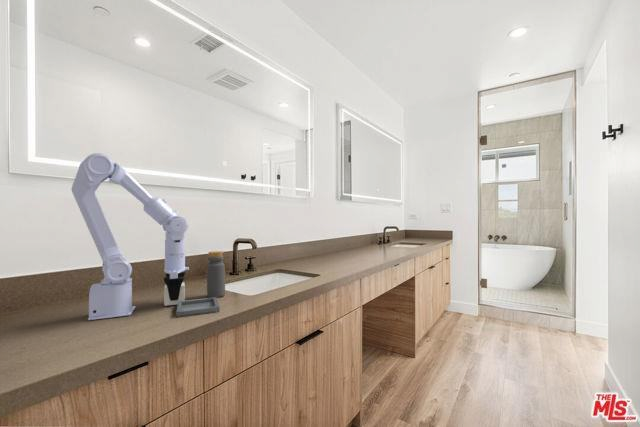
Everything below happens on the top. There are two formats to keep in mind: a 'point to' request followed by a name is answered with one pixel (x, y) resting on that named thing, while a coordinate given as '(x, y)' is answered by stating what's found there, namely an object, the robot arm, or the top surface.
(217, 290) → the bottle
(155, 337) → the top surface
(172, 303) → the ceramic cube
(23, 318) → the top surface
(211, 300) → the slate tray
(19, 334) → the top surface
